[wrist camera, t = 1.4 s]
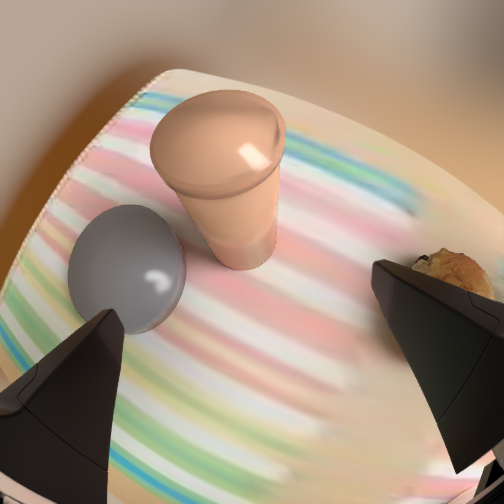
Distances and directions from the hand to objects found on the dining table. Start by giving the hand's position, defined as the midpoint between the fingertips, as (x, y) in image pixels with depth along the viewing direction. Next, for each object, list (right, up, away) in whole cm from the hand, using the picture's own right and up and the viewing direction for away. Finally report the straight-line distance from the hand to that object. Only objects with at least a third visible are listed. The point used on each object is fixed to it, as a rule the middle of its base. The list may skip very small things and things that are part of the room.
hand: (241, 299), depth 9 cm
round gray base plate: (-11, 0, +14) cm, 18 cm away
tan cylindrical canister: (0, +3, +14) cm, 15 cm away
